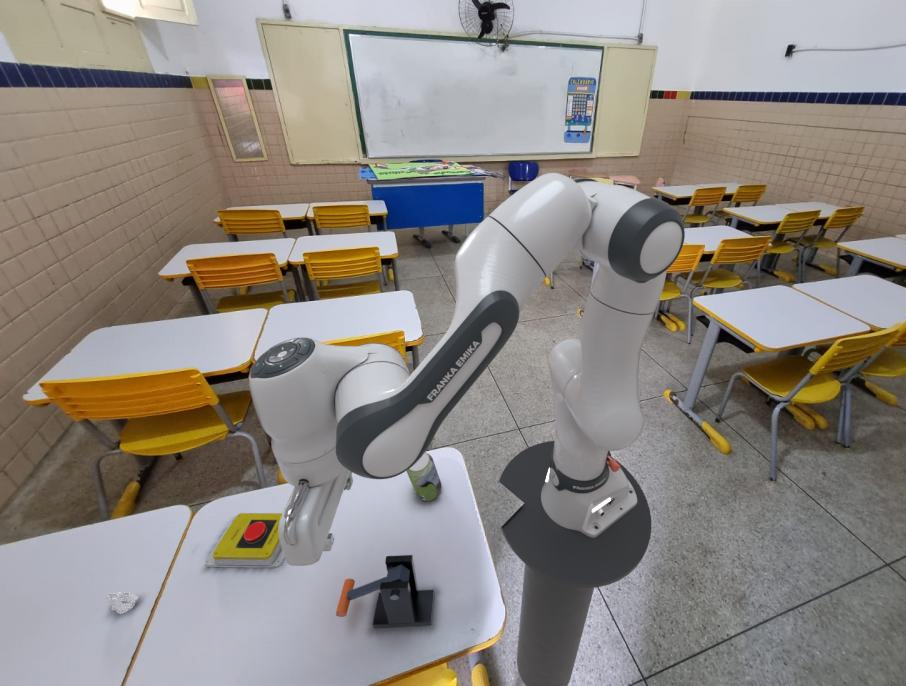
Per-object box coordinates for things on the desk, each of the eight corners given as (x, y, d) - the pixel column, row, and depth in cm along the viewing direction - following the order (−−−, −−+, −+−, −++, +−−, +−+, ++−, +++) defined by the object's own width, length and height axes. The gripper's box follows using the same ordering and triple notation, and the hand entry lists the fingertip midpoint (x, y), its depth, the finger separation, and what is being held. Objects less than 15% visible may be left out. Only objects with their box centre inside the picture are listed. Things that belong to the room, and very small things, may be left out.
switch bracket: (372, 632, 65) (360, 593, 59) (380, 592, 70) (370, 553, 64) (431, 628, 66) (425, 590, 59) (434, 589, 71) (429, 550, 65)
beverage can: (447, 491, 89) (444, 455, 83) (421, 512, 84) (416, 476, 78) (430, 474, 93) (426, 440, 87) (405, 494, 88) (399, 459, 82)
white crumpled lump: (143, 601, 68) (133, 590, 67) (135, 613, 67) (125, 602, 65) (114, 602, 68) (104, 591, 66) (105, 614, 67) (94, 604, 65)
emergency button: (275, 554, 72) (195, 554, 71) (281, 567, 74) (203, 567, 74) (297, 508, 80) (226, 508, 80) (302, 521, 82) (232, 520, 82)
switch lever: (341, 619, 63) (331, 613, 62) (350, 585, 68) (341, 579, 67) (406, 594, 61) (397, 588, 60) (411, 561, 65) (403, 555, 64)
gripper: (310, 525, 42) (336, 590, 48) (360, 398, 59) (374, 458, 66) (251, 529, 41) (286, 593, 48) (319, 399, 59) (337, 459, 66)
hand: (337, 514), depth 57 cm, fingers open, 8 cm apart
